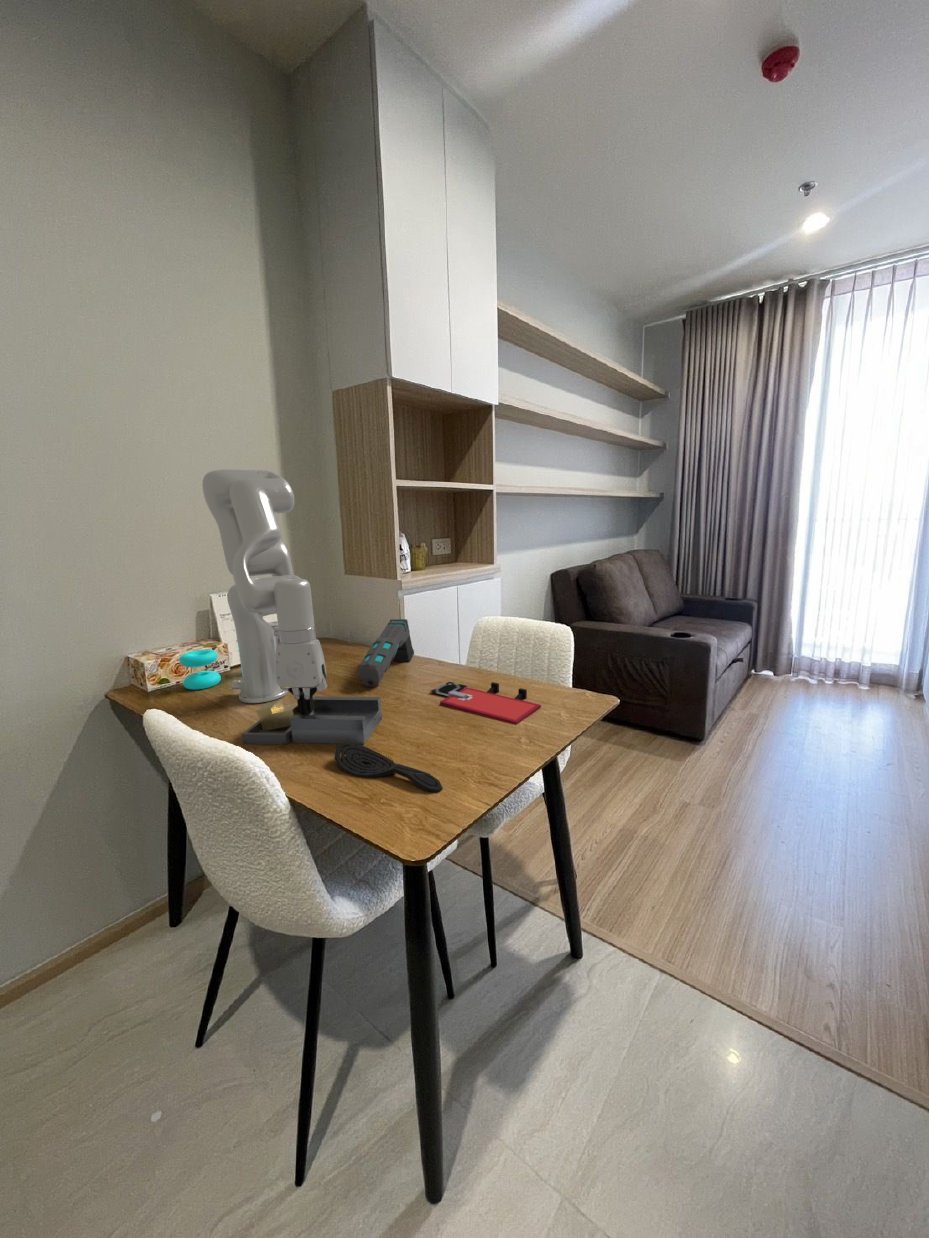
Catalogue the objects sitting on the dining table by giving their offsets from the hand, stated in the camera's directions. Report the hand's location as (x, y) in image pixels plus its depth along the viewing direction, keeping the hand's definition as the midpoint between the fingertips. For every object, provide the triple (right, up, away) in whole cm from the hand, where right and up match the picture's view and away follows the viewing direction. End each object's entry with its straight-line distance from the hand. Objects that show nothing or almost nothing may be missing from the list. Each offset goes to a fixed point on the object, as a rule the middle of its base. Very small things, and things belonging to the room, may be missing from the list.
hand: (306, 713), depth 111 cm
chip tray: (-6, -4, +2) cm, 8 cm away
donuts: (-42, +2, +35) cm, 55 cm away
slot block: (+8, -4, 0) cm, 8 cm away
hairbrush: (+21, -8, -19) cm, 30 cm away
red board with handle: (+40, 0, +14) cm, 43 cm away
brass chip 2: (-4, -2, +1) cm, 4 cm away
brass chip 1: (-7, 0, +1) cm, 7 cm away
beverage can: (-24, +5, +48) cm, 54 cm away
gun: (+13, +5, +41) cm, 43 cm away
